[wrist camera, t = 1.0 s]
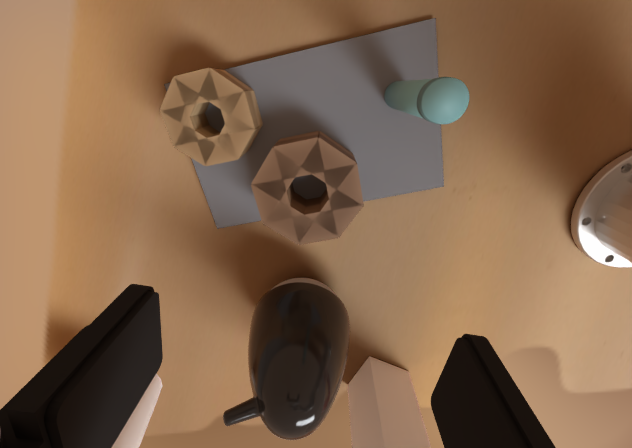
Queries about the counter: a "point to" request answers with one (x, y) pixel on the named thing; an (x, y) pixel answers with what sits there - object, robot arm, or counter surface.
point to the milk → (385, 408)
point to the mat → (335, 118)
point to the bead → (292, 209)
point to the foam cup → (139, 417)
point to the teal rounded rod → (429, 98)
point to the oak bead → (191, 122)
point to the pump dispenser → (295, 358)
